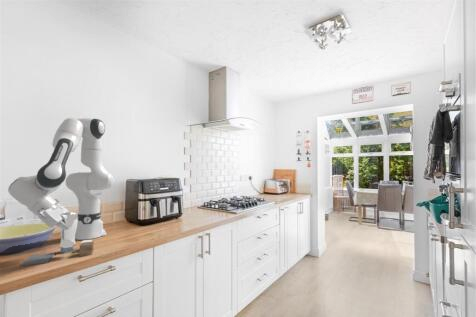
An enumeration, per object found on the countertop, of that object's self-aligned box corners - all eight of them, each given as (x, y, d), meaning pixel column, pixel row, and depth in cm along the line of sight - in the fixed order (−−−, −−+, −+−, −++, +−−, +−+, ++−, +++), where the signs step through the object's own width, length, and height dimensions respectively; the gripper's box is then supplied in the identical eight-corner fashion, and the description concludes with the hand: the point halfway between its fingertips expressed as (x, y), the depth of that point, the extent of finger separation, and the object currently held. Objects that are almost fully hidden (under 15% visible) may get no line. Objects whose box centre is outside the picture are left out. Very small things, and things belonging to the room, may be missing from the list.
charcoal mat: (31, 256, 108) (31, 255, 108) (55, 253, 111) (55, 252, 111) (20, 266, 97) (20, 265, 97) (47, 262, 100) (47, 261, 100)
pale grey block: (82, 248, 120) (83, 240, 120) (91, 247, 122) (92, 239, 122) (79, 252, 114) (80, 243, 115) (89, 251, 116) (89, 242, 116)
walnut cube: (81, 252, 113) (81, 242, 113) (93, 251, 115) (93, 241, 115) (79, 256, 108) (79, 245, 109) (91, 254, 110) (92, 244, 111)
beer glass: (55, 246, 107) (57, 213, 108) (73, 242, 113) (74, 211, 114) (61, 249, 103) (63, 215, 104) (79, 245, 109) (80, 213, 110)
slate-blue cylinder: (62, 250, 116) (62, 238, 116) (74, 249, 118) (74, 237, 118) (59, 253, 111) (59, 241, 112) (71, 252, 113) (72, 239, 114)
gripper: (43, 205, 97) (70, 226, 100) (58, 199, 115) (80, 217, 119) (28, 216, 95) (57, 238, 98) (46, 208, 113) (69, 226, 117)
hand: (70, 226), depth 109 cm, fingers closed on beer glass, 7 cm apart
